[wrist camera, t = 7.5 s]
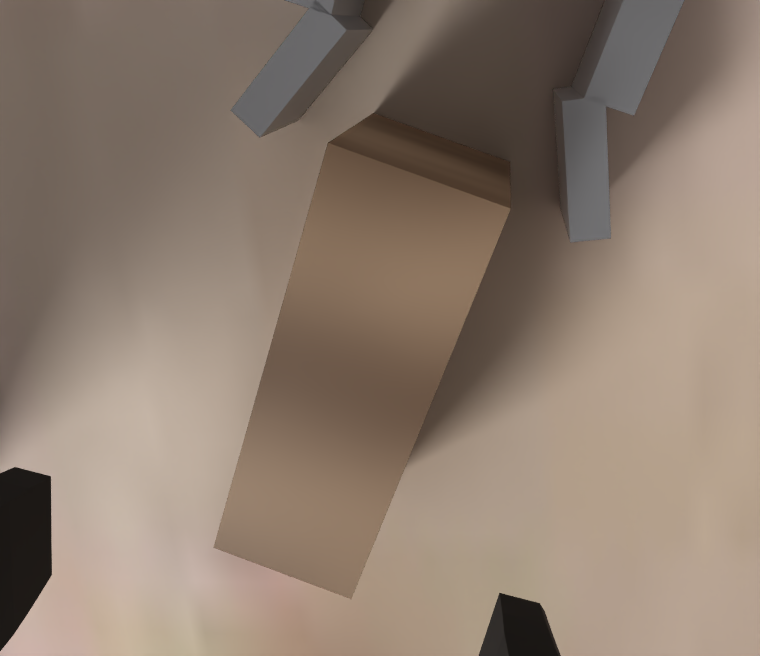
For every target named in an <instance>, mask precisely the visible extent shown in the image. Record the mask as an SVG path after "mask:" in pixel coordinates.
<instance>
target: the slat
mask: <svg viewBox="0 0 760 656" xmlns="http://www.w3.org/2000/svg"><path fill="white" fill-rule="evenodd" d="M510 210H511V190H510V162H509V161H506V160H503V159H500V158H498V157H495V156H492V155H489V154H486V153H484V152H481V151H478V150H475V149H472V148H470V147H467V146H464V145H461V144H458V143H456V142H453V141H450V140H447V139H444V138H442V137H439V136H436V135H433V134H431V133H428V132H425V131H422V130H419V129H417V128H414V127H411V126H408V125H405V124H403V123H400V122H397V121H394V120H391V119H389V118H386V117H383V116H380V115H377V114H375V113H373V114H371V115H370V116H368V117H367V118H365V119H364V120H362V121H361V122H359V123H358V124H356V125H355V126H353V127H352V128H350V129H348V130H347V131H345V132H344V133H342V134H341V135H339V136H338V137H336V138H335V139H333V140H332V141H330V142H329V143H328V145H327V148H326V152H325V155H324V159H323V162H322V166H321V169H320V173H319V176H318V180H317V183H316V187H315V190H314V194H313V198H312V201H311V205H310V208H309V212H308V215H307V219H306V222H305V226H304V229H303V233H302V236H301V240H300V244H299V247H298V251H297V254H296V258H295V261H294V265H293V268H292V272H291V275H290V279H289V282H288V286H287V289H286V293H285V297H284V300H283V304H282V307H281V311H280V314H279V318H278V321H277V325H276V328H275V332H274V335H273V339H272V342H271V346H270V350H269V353H268V357H267V360H266V364H265V367H264V371H263V374H262V378H261V381H260V385H259V388H258V392H257V396H256V399H255V403H254V406H253V410H252V413H251V417H250V420H249V424H248V427H247V431H246V434H245V438H244V441H243V445H242V449H241V452H240V456H239V459H238V463H237V466H236V470H235V473H234V477H233V480H232V484H231V487H230V491H229V494H228V498H227V502H226V505H225V509H224V512H223V516H222V519H221V523H220V526H219V530H218V533H217V537H216V540H215V544H214V548H216V549H219V550H221V551H224V552H227V553H229V554H232V555H235V556H237V557H240V558H243V559H245V560H248V561H251V562H253V563H256V564H259V565H261V566H264V567H267V568H269V569H272V570H275V571H277V572H280V573H283V574H285V575H288V576H291V577H294V578H296V579H299V580H302V581H304V582H307V583H310V584H312V585H315V586H318V587H320V588H323V589H326V590H328V591H331V592H334V593H336V594H339V595H342V596H344V597H347V598H350V599H351V598H352V596H353V593H354V591H355V589H356V586H357V584H358V581H359V579H360V576H361V574H362V571H363V569H364V567H365V564H366V562H367V559H368V557H369V554H370V552H371V549H372V547H373V545H374V542H375V540H376V537H377V535H378V532H379V530H380V527H381V525H382V523H383V520H384V518H385V515H386V513H387V510H388V508H389V505H390V503H391V501H392V498H393V496H394V493H395V491H396V488H397V486H398V483H399V481H400V479H401V476H402V474H403V471H404V469H405V466H406V464H407V461H408V459H409V457H410V454H411V452H412V449H413V447H414V444H415V442H416V439H417V437H418V435H419V432H420V430H421V427H422V425H423V422H424V420H425V417H426V415H427V413H428V410H429V408H430V405H431V403H432V400H433V398H434V395H435V393H436V391H437V388H438V386H439V383H440V381H441V378H442V376H443V373H444V371H445V369H446V366H447V364H448V361H449V359H450V356H451V354H452V351H453V349H454V347H455V344H456V342H457V339H458V337H459V334H460V332H461V329H462V327H463V325H464V322H465V320H466V317H467V315H468V312H469V310H470V307H471V305H472V303H473V300H474V298H475V295H476V293H477V290H478V288H479V285H480V283H481V281H482V278H483V276H484V273H485V271H486V268H487V266H488V263H489V261H490V259H491V256H492V254H493V251H494V249H495V246H496V244H497V241H498V239H499V237H500V234H501V232H502V229H503V227H504V224H505V222H506V219H507V217H508V215H509V212H510Z"/></svg>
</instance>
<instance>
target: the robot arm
mask: <svg viewBox="0 0 760 656" xmlns="http://www.w3.org/2000/svg"><path fill="white" fill-rule="evenodd" d="M51 575H52V553H51V476H47V475H43V474H40V473H36V472H32V471H28V470H24V469H20V468H16V467H14V468H12V469H9V470H7V471H5V472H2V473H0V651H1V650H2V648H3V647H4V646H5V645H6V643H7V642H8V641H9V640H10V638H11V637H12V636H13V635H14V633H15V632H16V630H17V629H18V627H19V626H20V624H21V623H22V621H23V620H24V618H25V617H26V615H27V614H28V612H29V611H30V609H31V608H32V606H33V604H34V603H35V601H36V599H37V598H38V596H39V595H40V593H41V591H42V590H43V588H44V587H45V585H46V583H47V582H48V580H49V578H50V577H51ZM479 656H561V655H560V653H559V650H558V648H557V645H556V642H555V639H554V637H553V634H552V631H551V628H550V626H549V623H548V620H547V617H546V614H545V611H544V610H543V608H542V606H541V605H540V603H536V602H532V601H529V600H525V599H521V598H517V597H513V596H509V595H505V594H502V593H499V596H498V599H497V602H496V605H495V608H494V611H493V614H492V617H491V620H490V623H489V626H488V629H487V632H486V635H485V638H484V641H483V644H482V647H481V650H480V653H479Z"/></svg>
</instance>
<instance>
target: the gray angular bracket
mask: <svg viewBox="0 0 760 656" xmlns="http://www.w3.org/2000/svg"><path fill="white" fill-rule="evenodd" d="M285 1H288V2H292V3H295V4H298V5H301V6H304V7H307V8H309V9H308V10H307V12H306V13H305V14H304V16H303V17H302V18H301V20H300V21H299V22H298V23H297V25H296V26H295V27H294V29H293V30H292V31H291V33H290V34H289V35H288V36H287V38H286V39H285V40H284V42H283V43H282V44H281V45H280V47H279V48H278V49H277V51H276V52H275V53H274V55H273V56H272V57H271V58H270V60H269V61H268V62H267V64H266V65H265V66H264V68H263V69H262V70H261V71H260V73H259V74H258V75H257V77H256V78H255V79H254V81H253V82H252V83H251V84H250V86H249V87H248V88H247V90H246V91H245V92H244V93H243V95H242V96H241V97H240V99H239V100H238V101H237V103H236V104H235V105H234V106H233V108H232V109H231V111H232V112H233V113H234V114H235V115H236V116H237V117H238V118H239V119H240V120H241V121H243V122H244V123H245V124H246V125H247V126H248V127H249V128H250V129H251V130H252V131H253V132H254V133H255V134H256V135H257V136H259V137H262V136H265V135H267V134H269V133H271V132H273V131H276V130H278V129H280V128H282V127H285V126H287V125H289V124H291V123H293V122H296V121H298V120H299V119H300V117H301V116H302V115H303V114H304V113H305V111H306V110H307V109H308V108H309V107H310V105H311V104H312V103H313V102H314V100H315V99H316V98H317V97H318V96H319V94H320V93H321V92H322V91H323V90H324V88H325V87H326V86H327V85H328V84H329V82H330V81H331V80H332V79H333V77H334V76H335V75H336V74H337V73H338V71H339V70H340V69H341V68H342V67H343V65H344V64H345V63H346V62H347V61H348V59H349V58H350V57H351V56H352V54H353V53H354V52H355V51H356V50H357V48H358V47H359V46H360V45H361V44H362V42H363V41H364V40H365V39H366V37H367V36H368V35H369V34H370V33H371V31H372V30H373V29H372V28H371V27H370V26H369V25H368V24H367V23H366V22H365V21H364V20H363V19H362V18H361V17H360V16H361V12H362V8H363V4H364V0H285ZM683 2H684V0H605V1H604V4H603V7H602V9H601V12H600V14H599V17H598V19H597V22H596V24H595V27H594V29H593V32H592V35H591V37H590V40H589V42H588V45H587V47H586V50H585V52H584V55H583V57H582V60H581V63H580V65H579V68H578V70H577V73H576V75H575V78H574V80H573V83H572V85H571V86H570V87H563V88H556V89H553V98H554V114H555V130H556V145H557V161H558V177H559V193H560V209H561V212H562V216H563V219H564V222H565V226H566V229H567V233H568V236H569V239H570V242H579V241H589V240H599V239H608V238H611V227H610V200H609V174H608V147H607V120H606V107H609V108H612V109H615V110H618V111H621V112H624V113H627V114H630V115H633V116H634V114H635V112H636V110H637V108H638V105H639V103H640V101H641V98H642V96H643V94H644V91H645V89H646V87H647V85H648V82H649V80H650V78H651V75H652V73H653V71H654V69H655V66H656V64H657V62H658V59H659V57H660V55H661V52H662V50H663V48H664V46H665V43H666V41H667V39H668V36H669V34H670V32H671V30H672V27H673V25H674V23H675V20H676V18H677V16H678V14H679V11H680V9H681V7H682V4H683Z"/></svg>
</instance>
